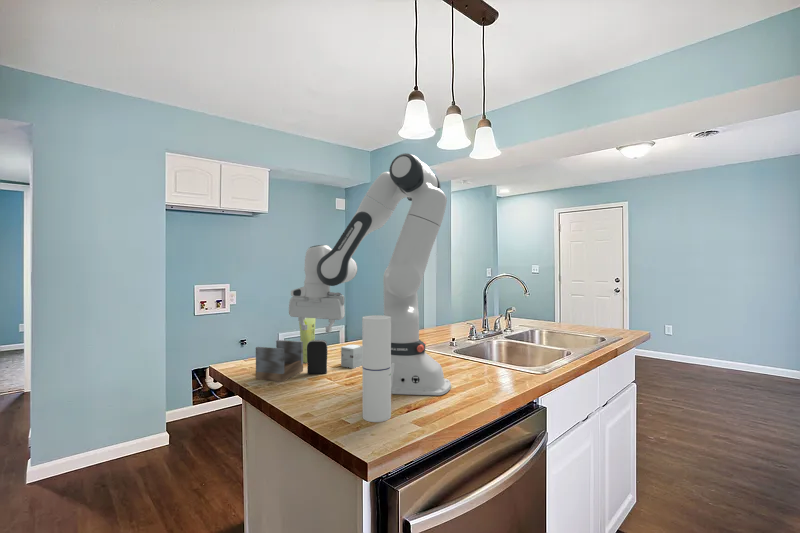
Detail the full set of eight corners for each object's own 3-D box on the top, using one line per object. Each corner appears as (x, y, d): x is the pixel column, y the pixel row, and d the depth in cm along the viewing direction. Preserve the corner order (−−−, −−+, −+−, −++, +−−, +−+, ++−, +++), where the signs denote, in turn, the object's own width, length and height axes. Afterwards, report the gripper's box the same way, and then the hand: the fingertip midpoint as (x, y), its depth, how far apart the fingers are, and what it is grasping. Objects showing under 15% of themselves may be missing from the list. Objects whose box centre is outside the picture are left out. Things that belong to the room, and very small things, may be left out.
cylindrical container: (356, 418, 99) (356, 317, 99) (374, 409, 105) (373, 314, 105) (379, 424, 95) (379, 320, 95) (396, 414, 101) (396, 316, 101)
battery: (328, 370, 141) (328, 338, 141) (327, 374, 138) (327, 341, 137) (308, 371, 141) (307, 339, 140) (306, 374, 137) (306, 341, 137)
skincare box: (340, 366, 147) (340, 346, 147) (351, 362, 153) (351, 343, 152) (353, 368, 144) (353, 348, 144) (363, 365, 149) (363, 345, 149)
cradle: (303, 371, 141) (302, 341, 141) (282, 381, 129) (282, 349, 129) (278, 368, 144) (278, 340, 144) (255, 379, 132) (255, 347, 131)
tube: (310, 364, 151) (310, 312, 151) (298, 363, 152) (297, 312, 152) (316, 360, 156) (316, 310, 156) (304, 359, 157) (304, 310, 157)
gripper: (348, 292, 139) (347, 331, 139) (296, 289, 145) (295, 327, 145) (340, 293, 133) (339, 334, 133) (286, 290, 139) (285, 330, 139)
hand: (316, 331), depth 139 cm, fingers open, 8 cm apart
